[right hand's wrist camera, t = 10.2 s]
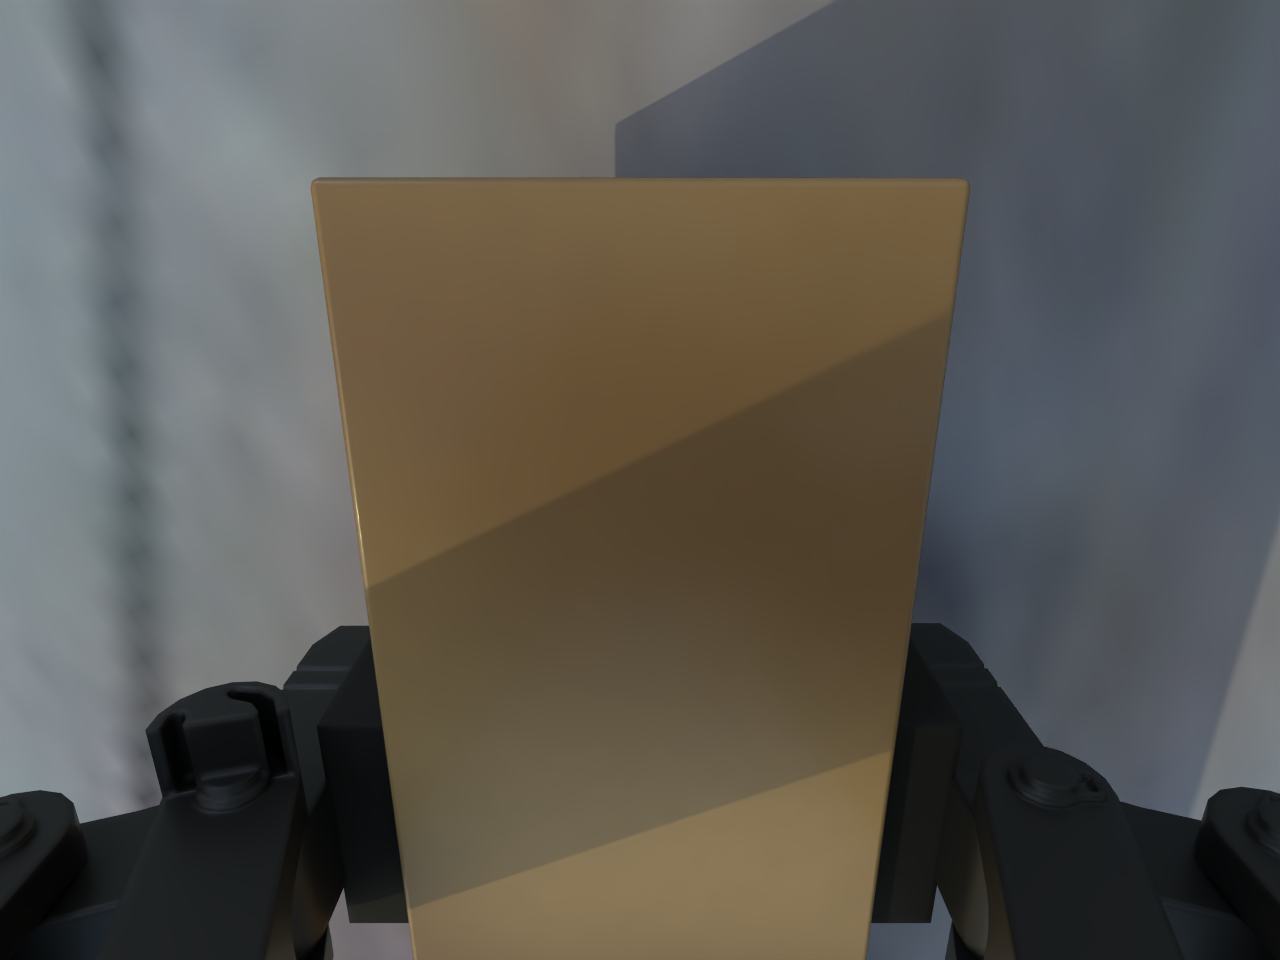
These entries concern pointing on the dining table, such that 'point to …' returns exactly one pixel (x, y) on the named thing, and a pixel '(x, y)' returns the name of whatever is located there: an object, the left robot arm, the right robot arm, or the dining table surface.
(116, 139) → the dining table surface
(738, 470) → the post
